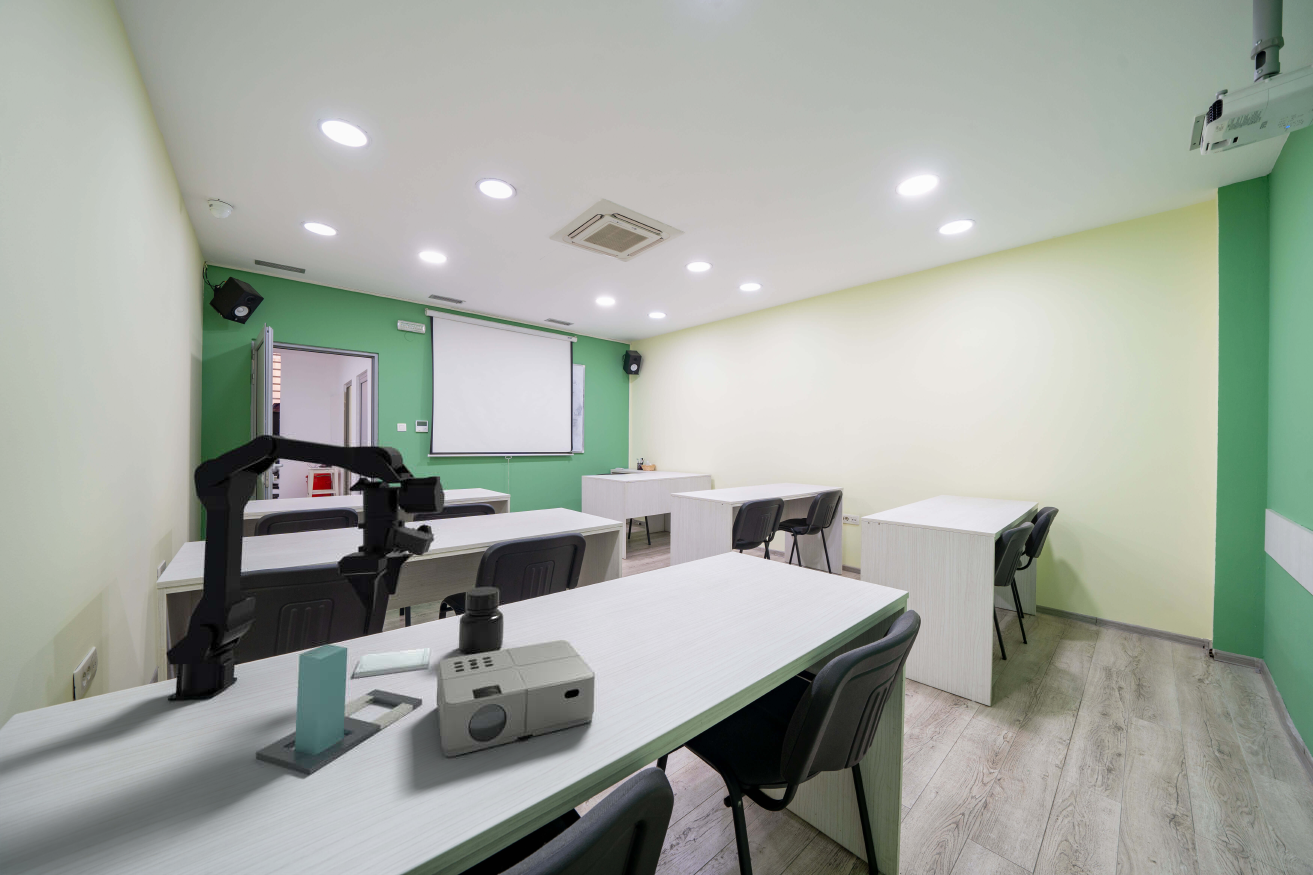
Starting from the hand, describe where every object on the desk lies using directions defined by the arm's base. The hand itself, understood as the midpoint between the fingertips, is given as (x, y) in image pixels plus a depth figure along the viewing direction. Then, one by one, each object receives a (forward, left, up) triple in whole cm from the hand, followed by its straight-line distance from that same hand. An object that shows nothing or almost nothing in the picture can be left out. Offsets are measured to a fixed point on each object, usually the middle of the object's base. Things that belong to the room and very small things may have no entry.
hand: (381, 601), depth 86 cm
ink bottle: (+15, +14, -15) cm, 25 cm away
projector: (+25, -14, -15) cm, 32 cm away
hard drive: (0, +8, -15) cm, 17 cm away
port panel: (+1, -15, -14) cm, 21 cm away
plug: (-1, -18, -14) cm, 23 cm away
